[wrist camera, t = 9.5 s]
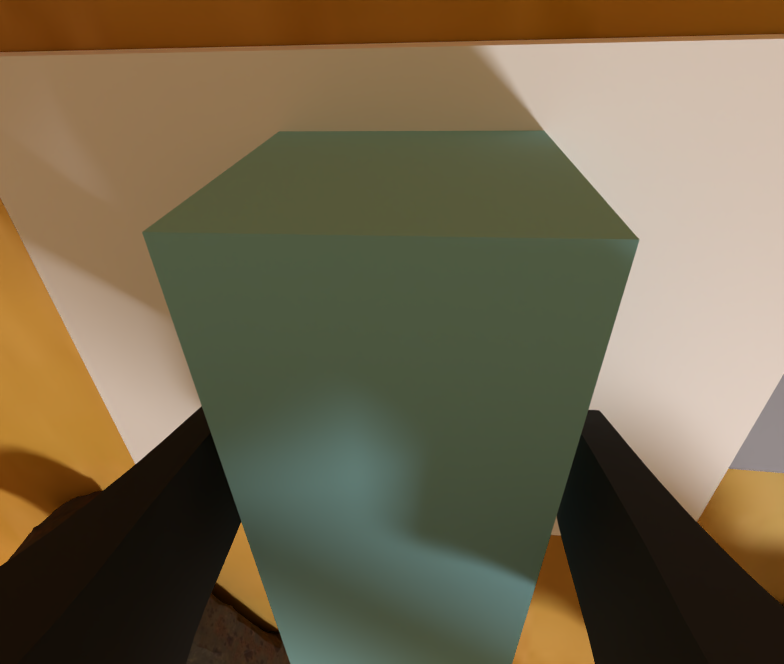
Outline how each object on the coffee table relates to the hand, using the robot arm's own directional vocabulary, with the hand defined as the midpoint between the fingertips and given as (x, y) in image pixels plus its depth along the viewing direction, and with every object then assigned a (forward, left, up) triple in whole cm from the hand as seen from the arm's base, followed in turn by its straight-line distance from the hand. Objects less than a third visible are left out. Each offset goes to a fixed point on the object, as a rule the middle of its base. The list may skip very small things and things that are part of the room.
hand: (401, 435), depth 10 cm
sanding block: (0, 0, -2) cm, 2 cm away
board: (0, 0, -4) cm, 4 cm away
